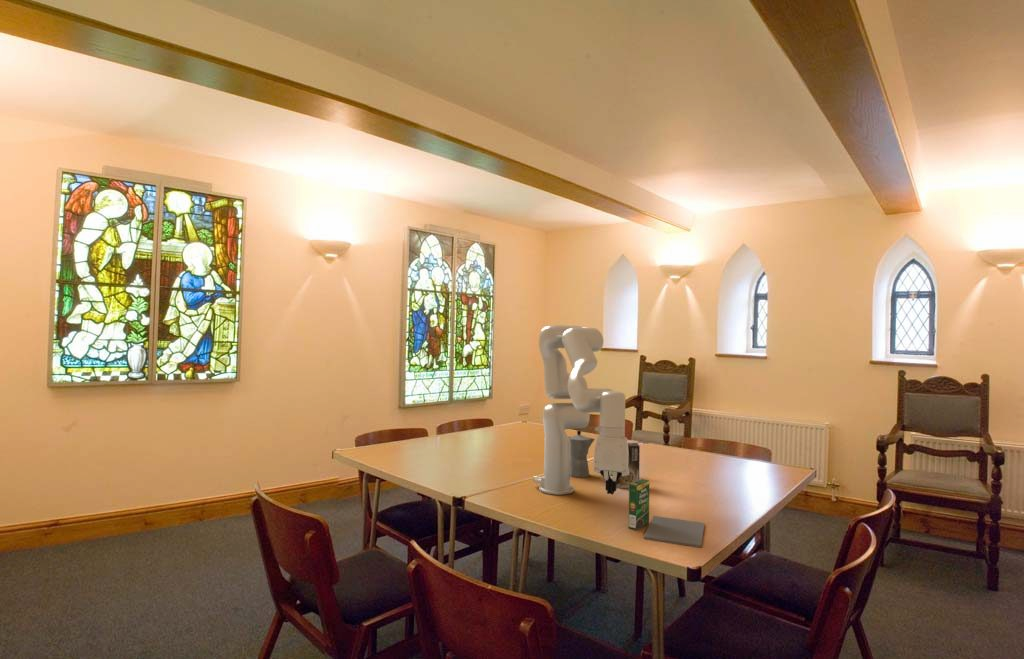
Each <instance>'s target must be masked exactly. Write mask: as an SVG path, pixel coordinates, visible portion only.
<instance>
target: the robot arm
mask: <svg viewBox="0 0 1024 659" xmlns="http://www.w3.org/2000/svg"><path fill="white" fill-rule="evenodd" d="M603 346H604V336H603V334H602V332H601V331H600V330H599V329H598V328H595V327H588V326H582V325H581V326H580V325H566V324H564V325H563V324H554V325H553V324H552V325H547V326H544V327H543V328H542V329H540V332H539V335H538V347H539V352H540V354H541V357H542V363H543V377H544V391H545V395H546V397H547V398H549V399H552V400H571V402H553V403H549V404H547V405H546V406H544V408H543V410H542V425H543V431H544V432H543V433H544V453H543V454H544V456H543V475H542V476H537V475H533V477H532V482H533V483H536V484H538V483H539V484H540V485H539V486H538V487H539V488H538V489H539V491H540V492H541V493H545V494H548V495H555V496H557V495H559V496H561V495H569V494H572V493H574V492H575V488H574V486H573V485H571V482H570V481H571V476H570V452H571V443H570V439H569V437H568V436H569V435H568V434H567V432H566V431H565V430H573V429H574V430H575V429H578V430H579V429H584V428H586V427H587V426H589V422H590V416H591V415H590V414H591V413H599V426H595V427H594V432H597V433H598V435H596V438H595V443H594V450H593V453H594V454H593V472H595V473H597V474H600V475H601V476H602V477H603V479H604V480H605V491H606V494H607V495H612V496H613V494H615V492H616V491H617V488H616V482H617V479H618V478H619V477H621V476H627V475H629V469H628V467H629V451H628V438H627V436H626V434H625V433H626V432H625V431H626V395H625V393H624V392H622V391H618V390H613V389H611V388H589V387H588V383H587V379H586V378H585V376H586V375H588V374H590V373H592V372H593V371H594V370H595V369H596V368H597V367H598V366H597V365H598V359H597V357H596V354H595V353H597V352H599V351H601V350H602V349H603ZM560 349H565V352H566V354H567V357H568V359H569V362H570V364H571V367H572V370H571V371H570V373H569V372H568V369H567V368H568V367H567V361H566V358H565V356H564V355H563V353H562V352H561V350H560ZM610 471H613V476H612V478H611V475H610Z"/></svg>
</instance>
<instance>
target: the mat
mask: <svg viewBox="0 0 1024 659" xmlns="http://www.w3.org/2000/svg"><path fill="white" fill-rule="evenodd" d="M705 524H706V523H705V522H701V521H700V522H699V521H694V520H693V521H692V520H687V519H680V518H678V519H677V518H672V517H665V516H657V515H653V516H652V518H651V521H649V524H648V527H647V529H646V531H645V534H644V535H643V539H645V540H651V541H655V540H656V542H657V541H658V542H662V541H663V542H662V543H668V542H669V544H674V543H675V544H676V545H681V544H682V545H683V546H687V545H688V547H694V546H697V547H696V548H700V547H701V548H702V545H701V544H702V543H703V538H704V537H703V536H704V531H705ZM682 545H681V546H682Z"/></svg>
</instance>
